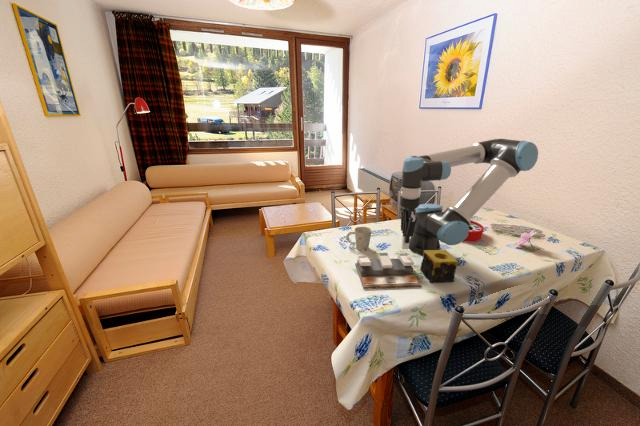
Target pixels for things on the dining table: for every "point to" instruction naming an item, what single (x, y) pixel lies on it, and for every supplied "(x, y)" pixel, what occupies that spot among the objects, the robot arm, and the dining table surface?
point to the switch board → (386, 275)
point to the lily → (525, 238)
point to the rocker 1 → (364, 261)
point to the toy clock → (474, 232)
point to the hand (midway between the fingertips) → (405, 248)
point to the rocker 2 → (405, 260)
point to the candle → (438, 266)
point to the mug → (361, 237)
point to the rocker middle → (385, 260)
